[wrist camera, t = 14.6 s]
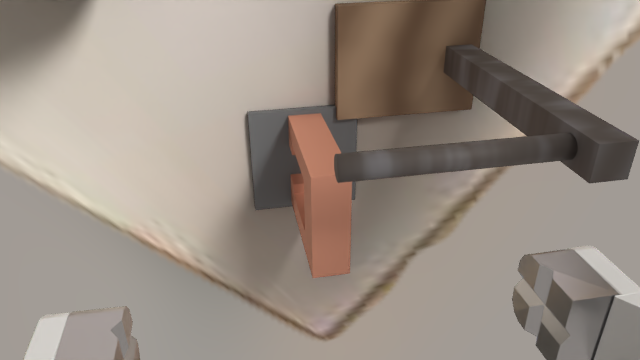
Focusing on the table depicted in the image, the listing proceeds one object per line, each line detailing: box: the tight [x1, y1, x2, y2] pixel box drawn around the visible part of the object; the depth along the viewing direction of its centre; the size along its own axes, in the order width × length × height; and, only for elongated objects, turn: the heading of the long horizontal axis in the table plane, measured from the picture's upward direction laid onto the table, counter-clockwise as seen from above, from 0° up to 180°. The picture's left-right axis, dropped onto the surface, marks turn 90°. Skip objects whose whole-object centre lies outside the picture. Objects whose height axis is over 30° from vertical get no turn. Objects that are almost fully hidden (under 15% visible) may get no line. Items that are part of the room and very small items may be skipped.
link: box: [288, 113, 352, 278], centre depth 45 cm, size 3×9×12 cm, turn 1°
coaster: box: [248, 105, 357, 210], centre depth 51 cm, size 10×10×1 cm
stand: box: [334, 0, 639, 183], centre depth 38 cm, size 17×10×22 cm, turn 91°
